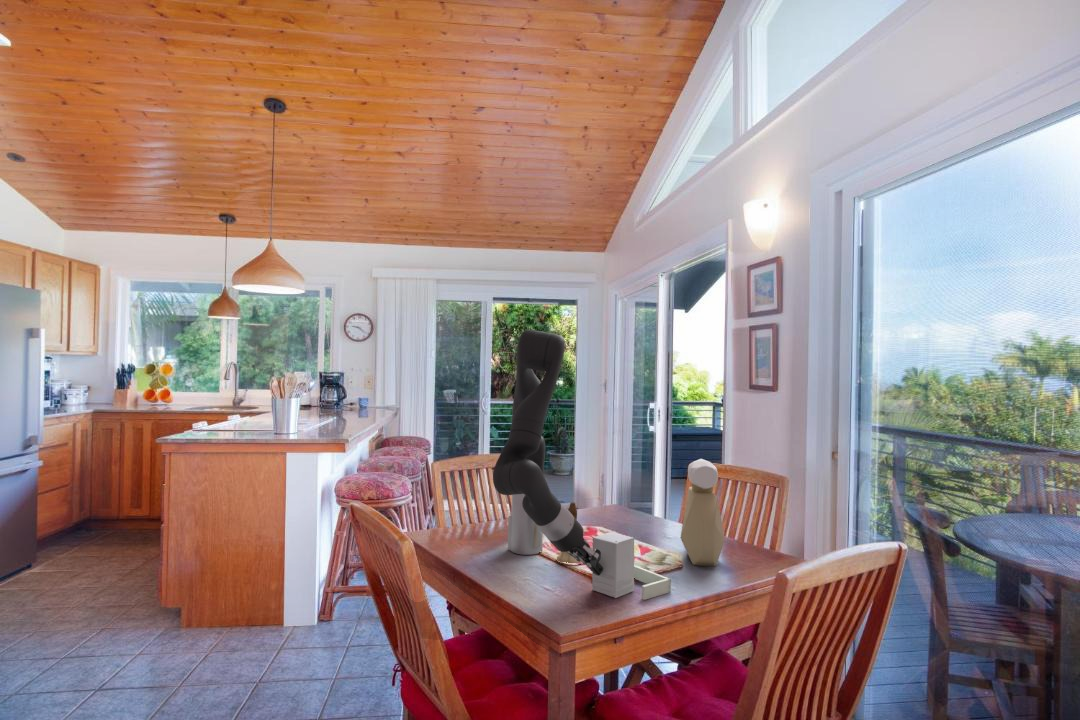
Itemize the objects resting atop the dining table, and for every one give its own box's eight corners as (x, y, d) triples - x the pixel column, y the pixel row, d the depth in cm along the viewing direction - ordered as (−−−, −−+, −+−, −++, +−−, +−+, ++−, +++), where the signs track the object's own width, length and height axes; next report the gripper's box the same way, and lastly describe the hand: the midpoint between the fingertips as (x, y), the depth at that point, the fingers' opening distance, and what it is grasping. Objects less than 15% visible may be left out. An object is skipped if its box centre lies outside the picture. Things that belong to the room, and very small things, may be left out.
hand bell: (591, 559, 161) (592, 501, 161) (576, 567, 154) (577, 507, 154) (565, 554, 166) (566, 497, 166) (550, 561, 159) (551, 502, 159)
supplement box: (635, 591, 138) (635, 537, 138) (615, 599, 133) (616, 543, 133) (610, 582, 143) (611, 531, 144) (590, 590, 138) (591, 536, 139)
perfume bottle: (685, 572, 152) (687, 465, 152) (675, 545, 176) (676, 452, 176) (733, 575, 150) (734, 466, 151) (716, 548, 174) (717, 454, 175)
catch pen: (644, 600, 133) (644, 586, 133) (595, 578, 146) (595, 566, 146) (670, 591, 138) (670, 579, 138) (621, 571, 151) (621, 560, 152)
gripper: (587, 518, 125) (627, 566, 132) (550, 506, 136) (589, 551, 143) (568, 547, 122) (610, 594, 129) (531, 532, 133) (572, 576, 139)
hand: (599, 571), depth 136 cm, fingers closed
